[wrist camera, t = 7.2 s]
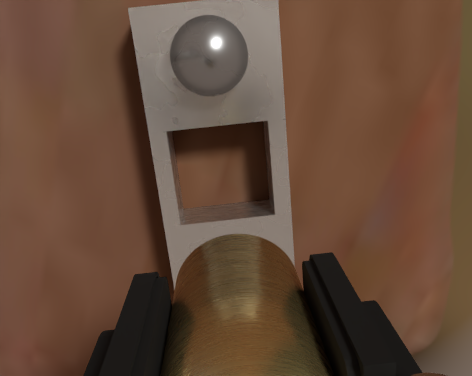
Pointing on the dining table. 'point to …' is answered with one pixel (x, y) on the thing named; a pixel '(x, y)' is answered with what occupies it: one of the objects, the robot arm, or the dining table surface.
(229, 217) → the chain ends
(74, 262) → the dining table surface
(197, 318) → the pin
